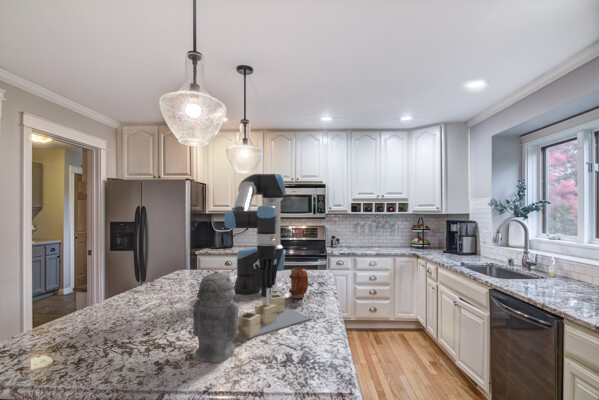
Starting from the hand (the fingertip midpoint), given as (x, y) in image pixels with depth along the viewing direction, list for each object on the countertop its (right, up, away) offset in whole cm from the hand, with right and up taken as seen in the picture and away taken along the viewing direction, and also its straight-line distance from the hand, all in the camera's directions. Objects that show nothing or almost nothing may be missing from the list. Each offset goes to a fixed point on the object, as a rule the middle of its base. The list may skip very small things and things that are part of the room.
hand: (265, 304), depth 114 cm
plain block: (0, -6, 0) cm, 6 cm away
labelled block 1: (-5, -6, -12) cm, 14 cm away
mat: (-1, -7, 0) cm, 7 cm away
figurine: (-13, -6, -26) cm, 30 cm away
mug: (+13, -9, +31) cm, 35 cm away
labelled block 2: (+3, -7, +12) cm, 14 cm away
